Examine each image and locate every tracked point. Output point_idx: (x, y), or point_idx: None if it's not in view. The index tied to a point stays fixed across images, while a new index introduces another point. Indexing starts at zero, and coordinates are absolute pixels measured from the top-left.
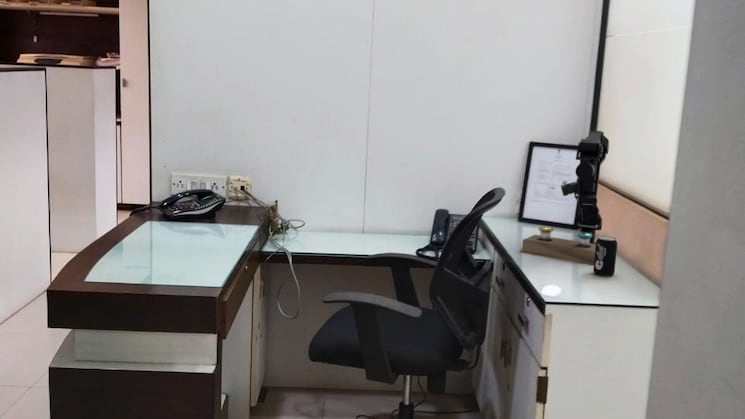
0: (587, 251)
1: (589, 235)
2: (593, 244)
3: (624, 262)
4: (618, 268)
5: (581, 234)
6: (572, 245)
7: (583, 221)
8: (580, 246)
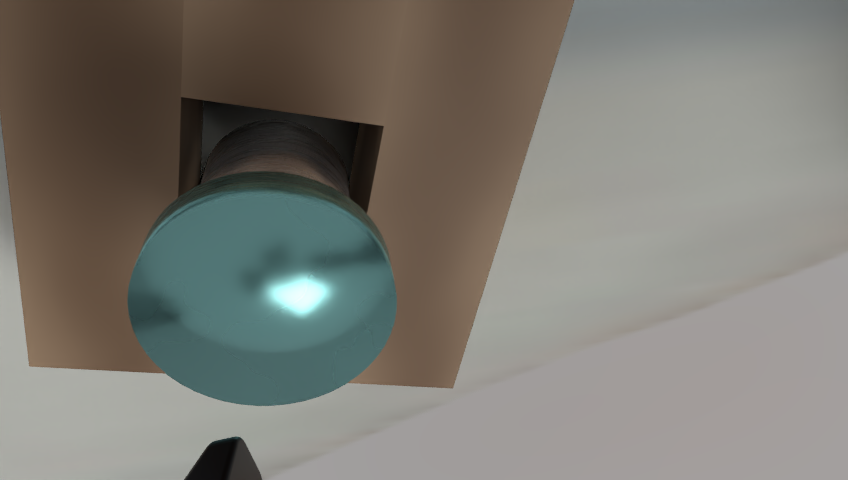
0: (26, 277)
1: (190, 381)
2: (451, 281)
3: (370, 434)
4: (113, 437)
5: (132, 283)
6: (197, 56)
7: (210, 466)
8: (206, 171)
